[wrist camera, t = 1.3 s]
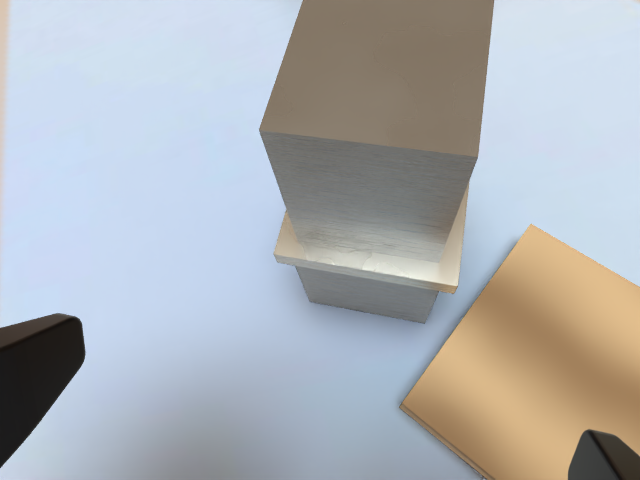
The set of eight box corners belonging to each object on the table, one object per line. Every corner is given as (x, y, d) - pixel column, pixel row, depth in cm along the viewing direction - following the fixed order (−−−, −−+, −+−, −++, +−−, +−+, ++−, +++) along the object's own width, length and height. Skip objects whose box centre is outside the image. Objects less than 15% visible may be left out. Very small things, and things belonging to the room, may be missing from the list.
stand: (624, 592, 17) (655, 609, 15) (399, 407, 20) (401, 403, 18) (734, 371, 19) (771, 364, 17) (517, 241, 23) (530, 223, 21)
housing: (432, 333, 21) (510, 189, 9) (300, 308, 22) (222, 150, 11) (447, 213, 24) (524, -20, 12) (327, 196, 25) (290, -32, 13)
